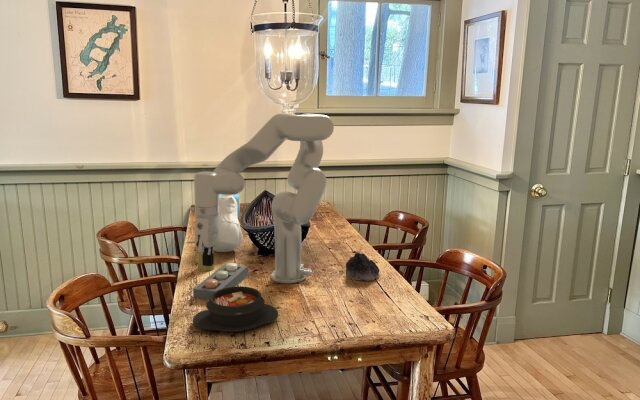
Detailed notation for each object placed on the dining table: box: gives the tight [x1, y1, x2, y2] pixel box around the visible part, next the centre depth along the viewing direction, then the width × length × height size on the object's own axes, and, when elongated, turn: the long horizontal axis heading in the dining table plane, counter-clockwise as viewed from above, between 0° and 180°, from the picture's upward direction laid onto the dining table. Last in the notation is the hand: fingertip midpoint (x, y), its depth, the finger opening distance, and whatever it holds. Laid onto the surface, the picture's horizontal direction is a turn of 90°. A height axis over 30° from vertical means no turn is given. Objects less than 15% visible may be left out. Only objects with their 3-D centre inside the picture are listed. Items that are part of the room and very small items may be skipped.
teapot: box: [219, 193, 241, 218], centre depth 262 cm, size 22×11×14 cm, turn 8°
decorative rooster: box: [214, 194, 243, 253], centre depth 214 cm, size 25×16×25 cm
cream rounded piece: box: [225, 262, 238, 272], centre depth 182 cm, size 4×4×3 cm
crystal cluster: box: [345, 252, 380, 282], centre depth 185 cm, size 13×14×10 cm
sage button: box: [216, 271, 228, 280], centre depth 175 cm, size 4×4×3 cm
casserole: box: [192, 285, 279, 333], centre depth 149 cm, size 25×19×8 cm
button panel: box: [192, 263, 249, 302], centre depth 175 cm, size 9×24×4 cm, turn 165°
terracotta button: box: [205, 279, 218, 289], centre depth 167 cm, size 4×4×3 cm
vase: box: [197, 251, 215, 272], centre depth 190 cm, size 6×6×14 cm
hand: (208, 265), depth 165 cm, fingers closed
